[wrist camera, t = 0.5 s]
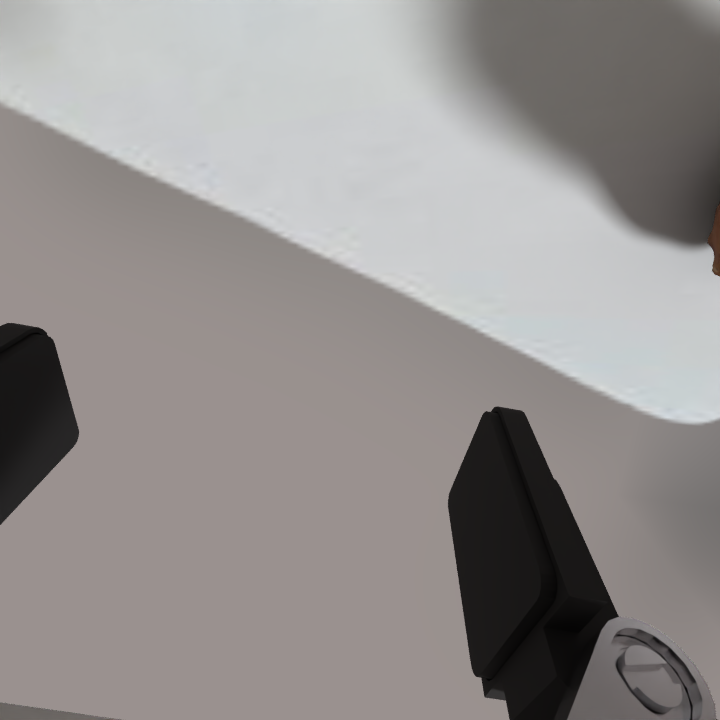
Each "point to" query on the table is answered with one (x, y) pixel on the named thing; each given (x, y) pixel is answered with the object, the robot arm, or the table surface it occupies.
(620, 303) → the table surface
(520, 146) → the table surface
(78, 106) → the table surface
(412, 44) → the table surface
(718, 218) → the butternut squash
